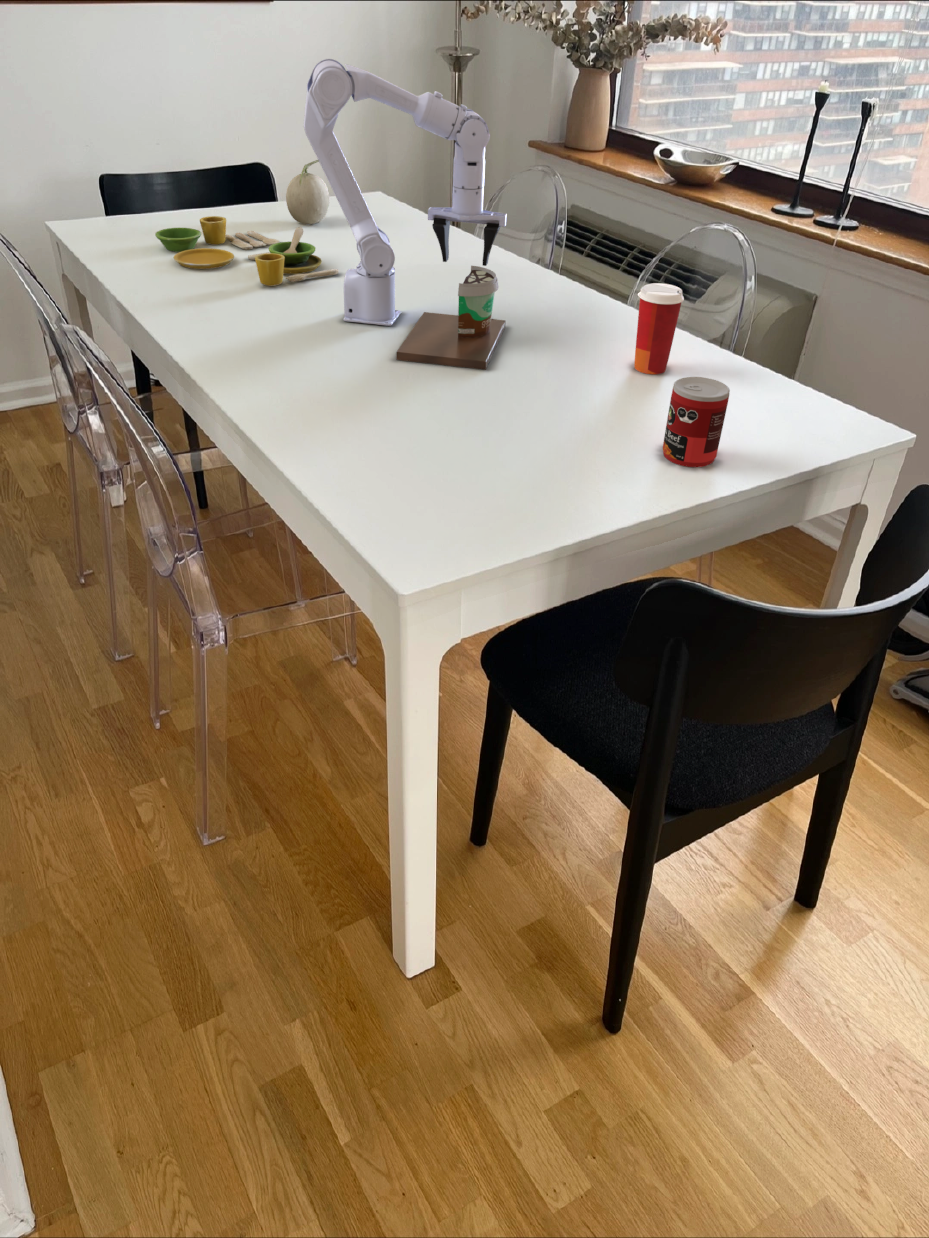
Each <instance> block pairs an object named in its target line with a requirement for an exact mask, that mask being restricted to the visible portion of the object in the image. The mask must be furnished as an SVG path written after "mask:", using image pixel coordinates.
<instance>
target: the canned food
mask: <svg viewBox="0 0 929 1238" xmlns="http://www.w3.org/2000/svg"><path fill="white" fill-rule="evenodd" d="M730 391H731V390H730V387H729V385H727V384H726V383H724V382H722V381H719V380H716V379H714V378H709V377H703V376H686V377H681V378H678V379H676V380H675V381H674V382H673V386H672V390H671V396H670V401H669V408H668V413H667V419H666V425H665V431H664V436H663V442H662V453H663V457H664V458H665V459H666V460H667V461H669V462H670V463H673V464H675V465H678V466H681V467H687V468H703V467H707V466H710V465H711V464H713V463H714V462H715V460H716V458H717V456H718V455H717V454H718V451H719V445H720V441H721V437H722V433H723V427H724V424H725V423H724V422H725V420H726V419H725V418H726V413H727V409H728V405H729V398H730V395H731V394H730Z"/></svg>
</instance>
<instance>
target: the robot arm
mask: <svg viewBox="0 0 929 1238" xmlns="http://www.w3.org/2000/svg"><path fill="white" fill-rule="evenodd" d="M344 65H345V66H344ZM344 65H343V64H342V63H341V62H340V61H338V60H336V59H334V58H324V59H321V60H320V61H318V62H317V63H316V65H314V67H313V69H312V71H311V73H310V75H309V78H308V81H307V83H306V94H305V95H306V96H305V107H304V117H303V129H304V132H305V136H306V137H307V140H308V142H309V144H310V146H311V148H312V150H313V152H314V155H315V156H316V158H317V159H316V160H318V161H319V162H318V163H319V165H320V167H321V170H322V171H323V173H324V175H325V177H326V180H327V181H328V183H329V185H330V189H331V190H332V192H333V194H334V196H335V199H336V201H337V202H338V205H339V207H340V208H341V211H342V213H343V215H344V217H345V219H346V221H347V223H348V225H349V227H350V231H351V232H352V234H353V237H354V239H355V241H356V250H357V253H358V255H359V258H360V261H359V263H358V265H356V268H348V269H347V270H346V271H345V274H344V279H343V310H344V311H343V312H344V317H343V321H344V322H348V323H350V322H351V323H360V324H367V325H368V324H369V325H379V326H386V327H391V326H393V325H394V323H395V322H396V321H397V319H398V318H399V316H400V315H401V313H402V311H401V310H399V309H398V310H397V309H396V269H395V267H394V265H395V262H396V254H395V251H394V249H393V247H392V246H391V242H390V238H389V236H388V234H386V232H384V231H383V230H382V229H381V228H380V227H379V226H378V225H377V222H376V220H375V218H374V216H373V214H372V213H371V210H370V208H369V206H368V204H367V201H366V199H365V197H364V196H363V192H362V191H361V188H360V186H359V184H358V182H357V180H356V177H355V175H354V173H353V171H352V169H351V167H350V165H349V163H348V160H347V158H346V156H345V154H344V152H343V150H342V148H341V146H340V145H341V144H340V143H339V141H338V138H337V137H336V134H335V132H334V128H335V125H336V122H337V120H338V117H339V114H340V113H341V111H342V109H344V108H345V106H346V104H347V103H348V102H349V100H350V99H351V98H352V100H353V102H354V103H355V102H361V101H364V100H368V99H371V100H374V101H376V102H379V103H381V104H383V105H386V106H388V107H390V108H394V109H396V110H398V111H400V112H403V113H406V114H409V115H411V117H412V119H413V122H414V124H415V126H416V127H418V128H419V129H422V130H423V131H427V132H429V133H430V134H433V135H435V136H437V137H440V138H442V139H445V140H447V141H455V142H454V156H453V165H452V166H453V169H452V192H451V193H452V195H451V196H452V199H451V200H452V201H451V206H450V207H449V206H447V207H444V206H443V207H441V206H439V207H437V206H429V208H428V209H427V221H433V223H432V225H431V227H432V229H433V232H434V234H435V236H436V239H437V242H438V244H439V248H440V252H441V257H442V262H443V263H447V262H448V261H449V259H450V257H449V256H450V245H449V244H450V243H449V241H450V228H451V222H456V223H466V224H467V223H468V224H476V225H477V224H479V225H485V226H484V228H483V253H482V266H483V267H487V265H488V264H489V258H490V255H491V250H492V247H493V245H494V242H495V240H496V237H497V235H498V233H499V231H500V229H501V228H505V227H506V226H507V216H508V214H507V213H504V212H498V211H491V210H487V209H484V196H485V195H484V193H485V177H486V175H485V174H486V159H485V157H486V147H487V146H488V144H489V141H490V139H491V133H490V130H489V125H488V123H487V122H486V121H485V119H484V118H483V117H482V116H481V115H479V114H478V113H477V112H476V111H474V110H473V109H472V108H468V106H466V105H465V104H463V103H461V104H460V105H458V104H456V103H454V102H452V101H449V100H448V99H445V98H443V94H442V93H441V92H439V91H436V90H434V92H433V93H432V92H430V91H425V92H424V93H422V94H418V95H417V94H415V93H412V92H410V91H408V90H406V89H404V88H402V87H401V86H399V85H396V84H394V83H392V82H391V81H388V80H386V79H385V78H382V77H380V76H379V75H377V74H374V73H373V72H371V71H368V70H365V69H363V68H361V67H357V66H355V65H352V64H348V63H344Z"/></svg>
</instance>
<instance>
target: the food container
mask: <svg viewBox="0 0 929 1238" xmlns="http://www.w3.org/2000/svg"><path fill="white" fill-rule="evenodd" d="M499 287H500V286H499V280H498V277H497V274H496V273H495V271H493V270H491V269H489V268H487V267H484V266H483V267H482V266H477V265H470V272H469V274H468V275H467V276H465V279H464V281H463V282H461V283H460V282H459V283H458V288H457V289H458V291H457V297H458V310H457V311H458V337H462V338H473V337H480V336H483V335H486V334H487V333H489V331H490V324H491V319H492V315H493V307H494V301H495V293H496V292H497V291H498V290H499Z"/></svg>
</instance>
